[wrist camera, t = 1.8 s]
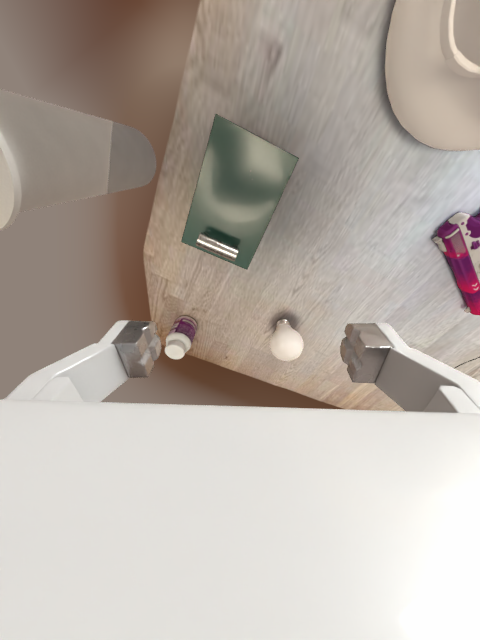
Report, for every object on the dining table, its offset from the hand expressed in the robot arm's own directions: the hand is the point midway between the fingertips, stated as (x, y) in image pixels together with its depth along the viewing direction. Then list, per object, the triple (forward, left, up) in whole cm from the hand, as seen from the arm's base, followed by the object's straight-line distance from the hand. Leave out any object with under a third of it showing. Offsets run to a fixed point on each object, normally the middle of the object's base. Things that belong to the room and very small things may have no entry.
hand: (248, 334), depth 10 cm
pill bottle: (-4, -29, -36) cm, 47 cm away
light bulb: (+16, -19, -36) cm, 44 cm away
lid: (-3, 0, -27) cm, 27 cm away
